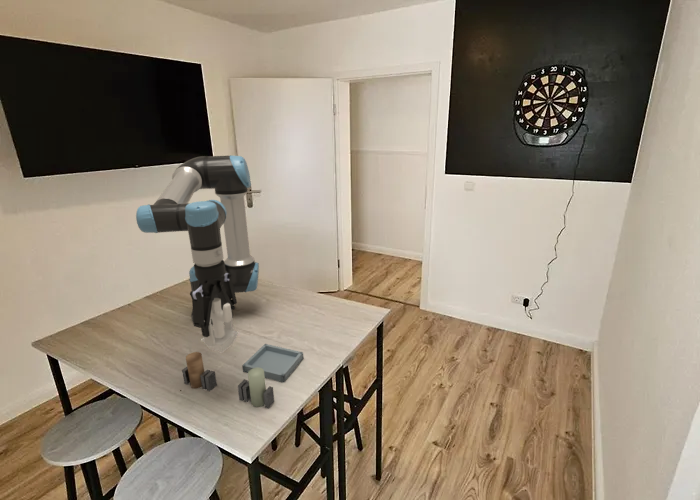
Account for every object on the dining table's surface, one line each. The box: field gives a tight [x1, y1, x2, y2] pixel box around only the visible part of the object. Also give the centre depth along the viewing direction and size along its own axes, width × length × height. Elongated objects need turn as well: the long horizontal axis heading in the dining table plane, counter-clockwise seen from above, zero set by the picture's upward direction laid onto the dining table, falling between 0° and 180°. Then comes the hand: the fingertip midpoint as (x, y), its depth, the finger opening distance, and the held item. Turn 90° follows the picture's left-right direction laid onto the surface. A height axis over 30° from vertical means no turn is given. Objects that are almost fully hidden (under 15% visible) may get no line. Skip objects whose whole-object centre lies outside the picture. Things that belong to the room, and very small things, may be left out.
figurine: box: [200, 298, 239, 353], centre depth 101 cm, size 7×9×15 cm
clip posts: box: [181, 365, 275, 409], centre depth 108 cm, size 30×3×5 cm, turn 69°
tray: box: [242, 343, 304, 383], centre depth 120 cm, size 15×13×2 cm
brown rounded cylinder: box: [185, 351, 205, 390], centre depth 111 cm, size 4×4×10 cm
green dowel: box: [247, 368, 267, 408], centre depth 103 cm, size 4×4×10 cm
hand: (220, 337), depth 103 cm, fingers closed on figurine, 7 cm apart
